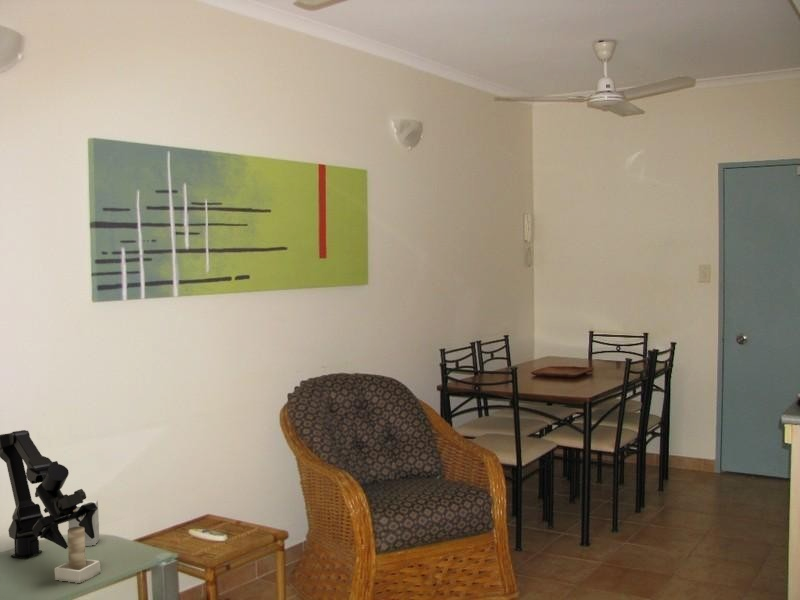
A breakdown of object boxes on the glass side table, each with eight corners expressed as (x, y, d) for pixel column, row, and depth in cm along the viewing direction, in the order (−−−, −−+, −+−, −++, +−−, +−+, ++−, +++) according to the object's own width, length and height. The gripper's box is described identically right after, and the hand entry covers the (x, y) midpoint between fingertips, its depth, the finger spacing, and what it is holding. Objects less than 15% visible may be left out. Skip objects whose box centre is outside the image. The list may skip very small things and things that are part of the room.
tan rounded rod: (65, 575, 231) (64, 531, 231) (76, 569, 236) (75, 525, 235) (78, 577, 230) (77, 532, 229) (89, 571, 234) (87, 527, 233)
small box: (99, 539, 265) (98, 500, 265) (95, 546, 259) (94, 505, 258) (73, 541, 264) (72, 501, 263) (68, 547, 258) (67, 507, 257)
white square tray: (54, 580, 230) (54, 568, 230) (76, 569, 238) (75, 557, 238) (79, 583, 227) (79, 571, 227) (100, 572, 235) (100, 561, 235)
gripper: (37, 490, 226) (65, 535, 221) (92, 475, 242) (119, 516, 237) (20, 514, 230) (47, 559, 225) (75, 497, 246) (101, 539, 241)
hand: (80, 542), depth 232 cm, fingers open, 9 cm apart
